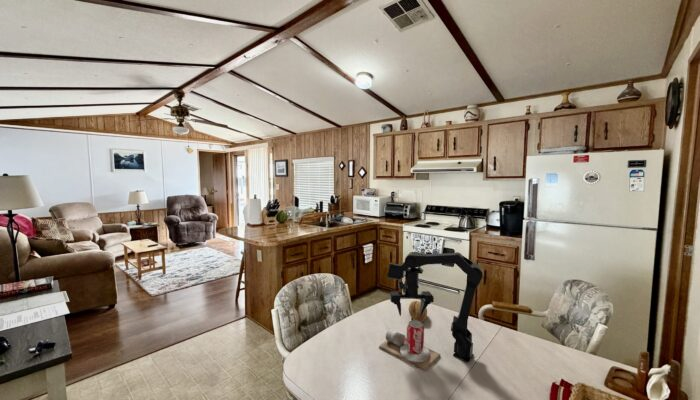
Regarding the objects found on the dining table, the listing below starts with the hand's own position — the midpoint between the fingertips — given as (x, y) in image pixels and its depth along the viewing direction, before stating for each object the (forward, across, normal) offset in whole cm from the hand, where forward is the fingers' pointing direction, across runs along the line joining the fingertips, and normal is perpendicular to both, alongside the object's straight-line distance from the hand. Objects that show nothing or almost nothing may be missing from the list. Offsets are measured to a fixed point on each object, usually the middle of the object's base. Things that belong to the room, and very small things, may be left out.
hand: (410, 315), depth 131 cm
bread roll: (+13, -10, -24) cm, 29 cm away
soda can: (+11, 0, +9) cm, 14 cm away
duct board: (+13, +2, +6) cm, 15 cm away
